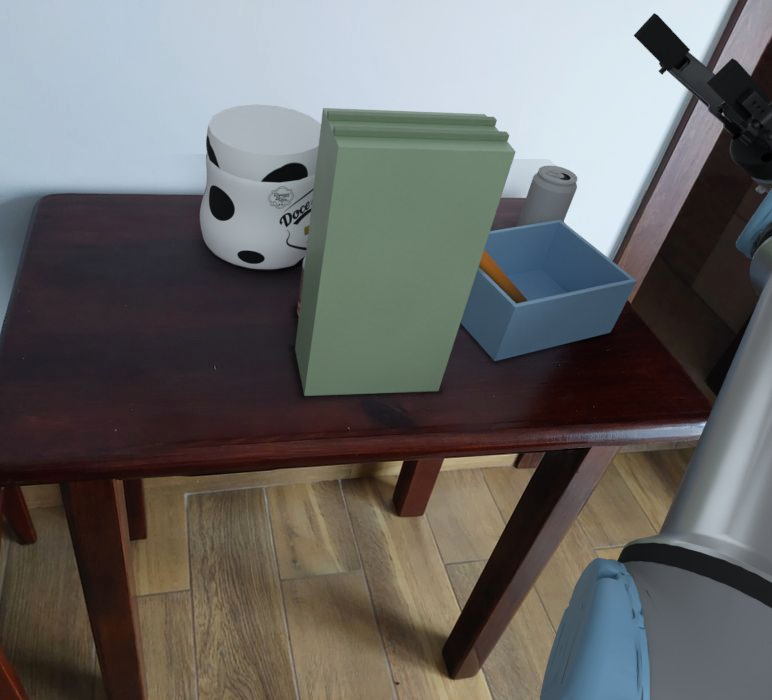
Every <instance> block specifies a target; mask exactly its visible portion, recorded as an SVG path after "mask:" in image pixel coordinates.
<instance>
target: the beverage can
mask: <svg viewBox="0 0 772 700" xmlns="http://www.w3.org/2000/svg"><path fill="white" fill-rule="evenodd" d="M577 182H578V176H577V175H576V174H575V173H574V172H573V171H571V170H570V169H567V168H564V167H561V166H557V165H543V166H541V167H539V168H538V171H537V172H536V173H535V174H534V175H533V176H532V180H531V182H530V185H529V188H528V192H527V194H526V196H525V200H524V203H523V206H522V208H521V212H520V214H519V217H518V220H517V223H516V226H515V227H519V226H525V225H531V224H537V223H543V222H549V221H555V220H561V221H562V222H564V223H565V219H566V217H567V214H568V211H569V209H570V208H571V207H570V206H571V204H572V201H573V199H574V196H575V194H576V191H577V190H578V186H577Z"/></svg>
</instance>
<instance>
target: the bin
mask: <svg viewBox="0 0 772 700" xmlns="http://www.w3.org/2000/svg"><path fill="white" fill-rule="evenodd" d="M484 250H485V251H486V252H487V253H488V255H489V256H490V257H491V258H492V259H493V260H494V262H495V263H496V264H497V265H498V266H499V267H500V269H501V270H502V271H503V272H504V273H505V274H506V276H507V277H508V278H509V279H510V280H511V281H512V283H513V284H514V285H515V286H516V287H517V288H518V290H519V291H520V292H521V293H522V294H523V295H524V297H525V298H526V299H527V300H528V301H527V302H522V303H517V304H516V303H515V302H514V301H513V300H512V299H511V298H510V297H509V296H508V295H507V294H506V293H505V292H504V291H503V290H502V289H501V288H500V287H499V286H498V285H497V284H496V283H495V282H494V281H493V280H492V279H491V278H490V277H489V276H488V275H487V274H486V273H485V272H484V271H483V270H482V269H481V268H480V267H478V270H477V273H476V276H475V279H474V282H473V285H472V288H471V292H470V295H469V298H468V301H467V304H466V307H465V310H464V313H463V316H462V319H461V323H460V325H462V326H463V328H464V329H465V330H466V331H467V332H468V333H469V334H470V336H472V338H473V339H474V340H475V341H476V342H477V343H478V344H479V346H480V347H481V349H483V350H484V351H485V353H486V354H487V355H488V356H489V357H490V358H491V359H492V360H493V361H494V362H498V361H501V360H505V359H509V358H513V357H518V356H520V355H521V356H522V355H525V354H529V353H530V354H531V353H534V352H538V351H542V350H546V349H550V348H554V347H558V346H561V345H562V346H563V345H565V344H569V343H575V342H578V341H583V340H586V339H590V338H594V337H598V336H603V335H607V334H611V333H612V330H613V329H614V327H615V325H616V323H617V321H618V319H619V317H620V315H621V314H622V311H623V310H624V308H625V305H626V304H627V302H628V300H629V298H630V297H631V294H632V293H633V290H634V288H635V286H636V284H637V282H638V280H636V278H634V277H633V276H632V275H630V274H629V273H628V272H627V271H625V270H624V269H623V268H622V267H620V266H619V265H618V264H616V263H615V262H614V261H613V260H612V259H610V258H609V257H608V256H606V255H605V254H604V253H603V252H602V251H600V250H599V249H598V248H596V247H595V246H594V245H593V244H592V243H590V242H589V241H588V240H586V239H585V238H584V237H583V236H581V234H579V233H578V232H577V231H575V230H574V229H572V228H571V227H570V226H569V225H568V224H566V223H565V221H564V222H562V221H561V220H555V221H549V222H543V223H537V224H531V225H525V226H519V227H516V226H514V227H506V228H501V229H496V230H490V233H489V236H488V239H487V242H486V245H485V248H484Z"/></svg>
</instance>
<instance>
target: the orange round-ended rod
mask: <svg viewBox="0 0 772 700" xmlns="http://www.w3.org/2000/svg"><path fill="white" fill-rule="evenodd" d="M479 267H480V268H481V269H482V270H483V271H484V272H485V273H486V274H487V275H488V276H489V277H490V278H491V279H492V280H493V281H494V282H495V283H496V284H497V285H498V286H499V287H500V288H501V289H502V290H503V291H504V292H505V293H506V294H507V295H508V296H509V297H510V298H511V299H512V300H513V301H514V302H515V303H516V304H517V303H522V302H527V301H528V300H527V299H526V298H525V297H524V295H523V294H522V293H521V292H520V291H519V290H518V288H517V287H516V286H515V285H514V284H513V283H512V281H511V280H510V279H509V278H508V277H507V276H506V274H505V273H504V272H503V271H502V270H501V269H500V267H499V266H498V265H497V264H496V263H495V262H494V260H493V259H492V258H491V257H490V256H489V255H488V253H487V252H486V251H485V250H484V251H483V254H482V258H481V261H480V264H479Z"/></svg>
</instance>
